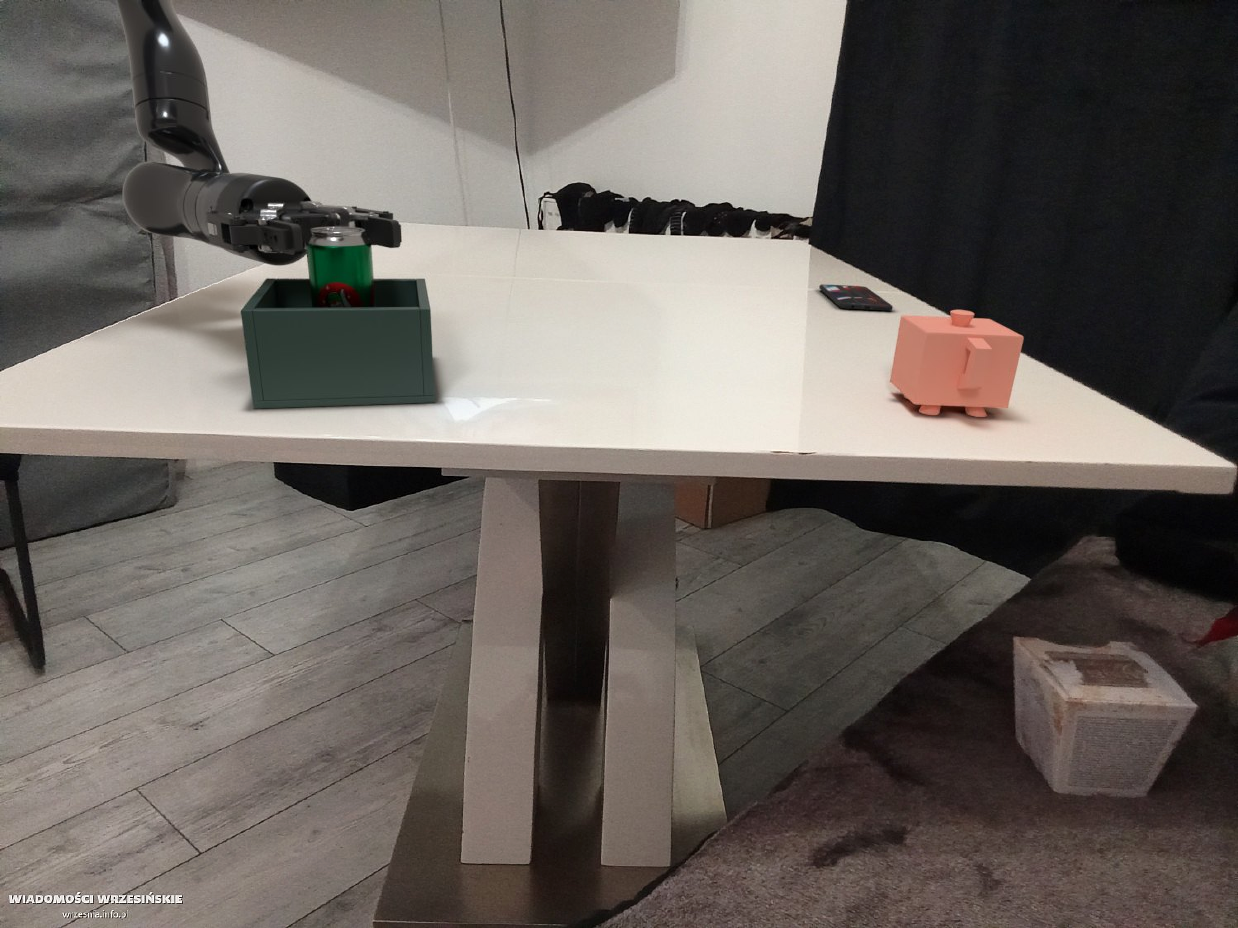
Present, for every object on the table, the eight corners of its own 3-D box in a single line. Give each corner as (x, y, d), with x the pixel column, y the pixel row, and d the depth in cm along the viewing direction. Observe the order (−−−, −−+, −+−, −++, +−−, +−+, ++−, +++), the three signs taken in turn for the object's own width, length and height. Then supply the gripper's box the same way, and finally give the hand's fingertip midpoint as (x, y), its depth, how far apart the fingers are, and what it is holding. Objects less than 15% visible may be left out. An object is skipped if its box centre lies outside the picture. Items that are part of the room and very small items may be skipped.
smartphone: (841, 304, 110) (818, 284, 124) (840, 309, 110) (817, 288, 124) (895, 306, 110) (866, 286, 124) (894, 311, 110) (865, 290, 124)
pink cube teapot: (960, 385, 78) (977, 298, 75) (1016, 428, 67) (1039, 327, 64) (877, 382, 78) (892, 294, 75) (920, 424, 67) (939, 323, 64)
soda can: (349, 362, 74) (337, 224, 70) (392, 371, 72) (383, 229, 68) (305, 375, 70) (290, 229, 66) (350, 385, 68) (337, 235, 63)
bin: (253, 409, 63) (240, 310, 61) (276, 362, 76) (266, 278, 73) (434, 402, 67) (430, 308, 64) (428, 359, 79) (424, 278, 76)
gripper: (166, 174, 69) (255, 188, 59) (324, 174, 79) (424, 186, 69) (180, 265, 72) (267, 294, 62) (331, 254, 82) (427, 278, 72)
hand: (349, 237), depth 65 cm, fingers open, 8 cm apart
